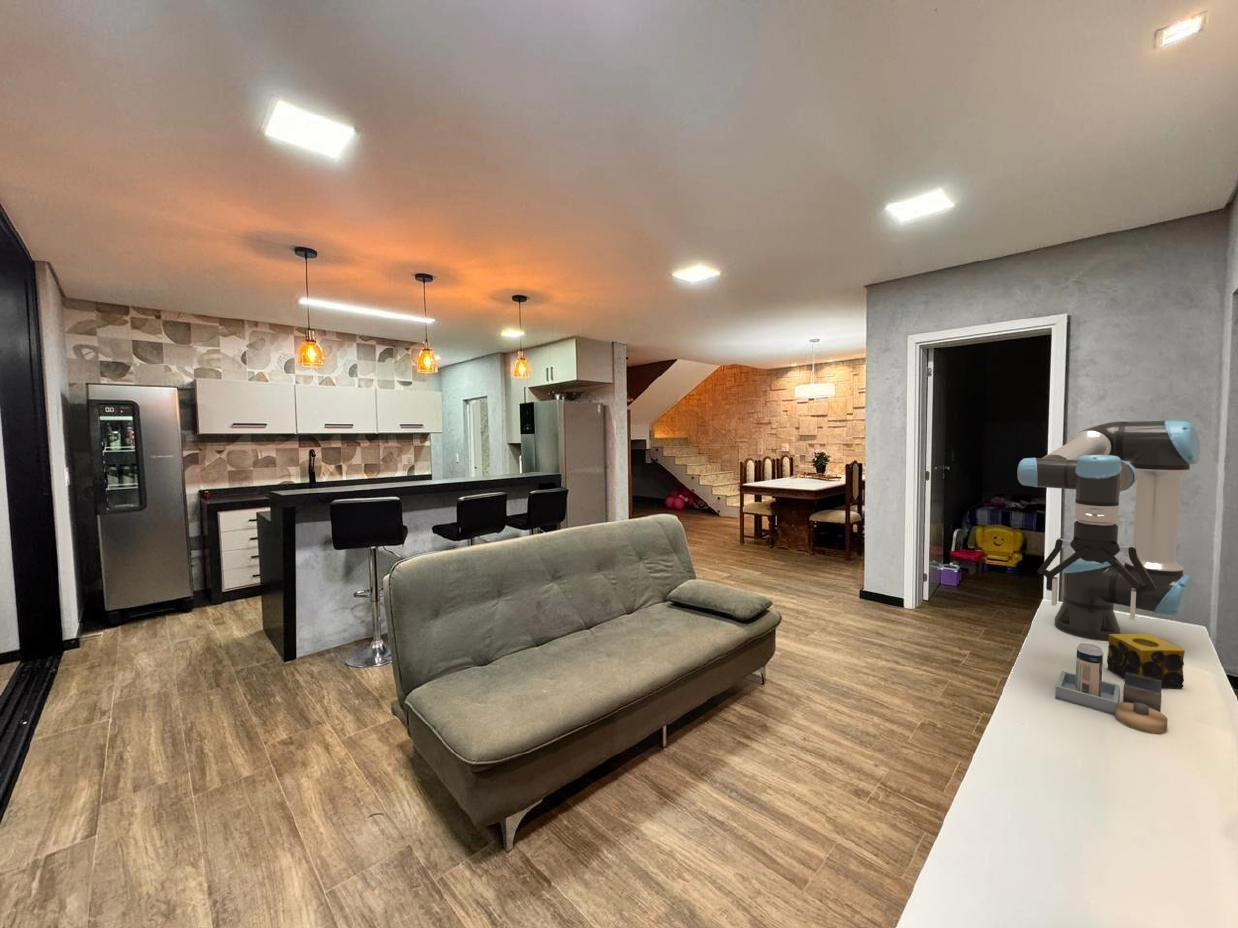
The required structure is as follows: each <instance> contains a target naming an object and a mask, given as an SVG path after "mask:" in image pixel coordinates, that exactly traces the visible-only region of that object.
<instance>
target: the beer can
mask: <svg viewBox="0 0 1238 928" xmlns="http://www.w3.org/2000/svg"><path fill="white" fill-rule="evenodd" d="M1103 659H1104V652H1103V650H1102V648H1101V647H1100V646H1099V645H1094V644H1090V643H1083V642H1082V643H1079V644H1078V645H1077V647H1076V662H1075V674H1076V679H1075V690H1076V691H1080V692H1084V693H1088V694H1091V695H1095V696H1099V697H1102V696H1101V686H1102V681H1103V665H1104V663H1103V661H1104V660H1103Z"/></svg>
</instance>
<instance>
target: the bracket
mask: <svg viewBox="0 0 1238 928" xmlns="http://www.w3.org/2000/svg"><path fill="white" fill-rule="evenodd" d="M1161 684H1162V680H1159V679H1155V678H1150V677H1146V676H1142V675H1138V674H1133V673H1129V672H1126V674H1125V679H1124V683H1123V691H1122V695H1123V696H1122V702H1127V703H1135V702H1138V703H1143V704H1145V705H1147V706H1149V708H1152V709H1154V710H1157V711H1159V712H1160V713H1162V712H1161V709H1162V688H1161Z"/></svg>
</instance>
